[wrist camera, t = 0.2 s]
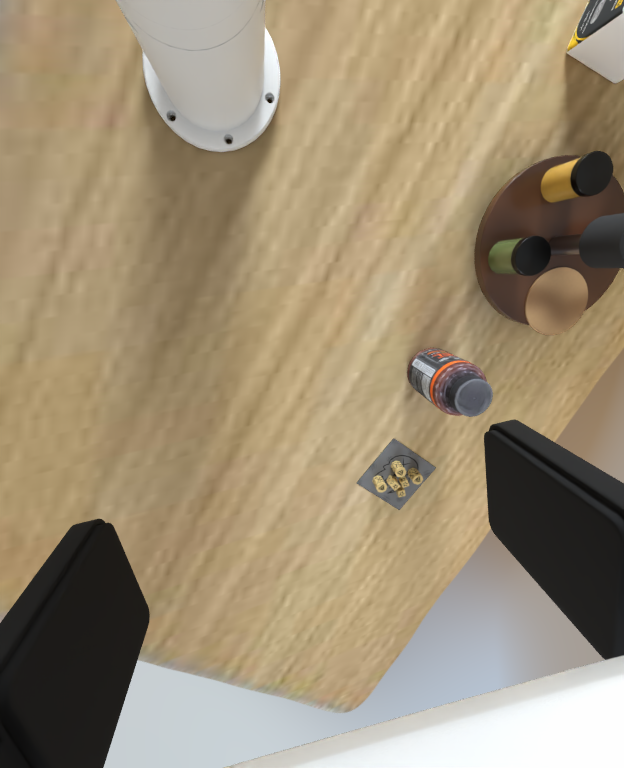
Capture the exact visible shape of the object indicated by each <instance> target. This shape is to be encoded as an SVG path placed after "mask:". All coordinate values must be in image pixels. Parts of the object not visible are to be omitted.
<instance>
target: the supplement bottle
mask: <svg viewBox="0 0 624 768" xmlns="http://www.w3.org/2000/svg"><path fill="white" fill-rule="evenodd" d="M407 374H408V380H409V382H410V384H411V385H412V387H413V388H414V389H415V390H416V391H418V392H419V393H420V394H421V395H423V396H424V397H425V398H426V399H428V400H429V401H430V402H431V403H433V404H434V405H435V406H436V407H438V408H439V409H440V410H441V411H443V412H445V413H447V414H450V415H455V416H459V415H465V416H469V417H471V416H477V415H479V414H481V413H483V412H484V411H485V410H486V409H487V408H488V407H489V405H490V404H491V401H492V397H493V392H492V389H491V386H490V385H489V384H488V383H487V380H486V377H485V375H484V373H483V372H482V371H481V370H480V369H479V368H478V367H477V366H475V365H474V364H472V363H470V362H468V361H465V360H463V359H461V358H459V357H457V356H454V355H452V354H450V353H448V352H446V351H444V350H441V349H437V348H428V349H424V350H422V351H420V352H418V353H417V354H416V355H415V356H414V357H413V358H412V360H411V361H410V363H409V366H408V372H407Z"/></svg>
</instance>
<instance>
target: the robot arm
mask: <svg viewBox="0 0 624 768" xmlns="http://www.w3.org/2000/svg"><path fill="white" fill-rule="evenodd" d="M116 2H117V3H118V5H119V7H120V9H121V11H122V13H123V14H124V16H125V18H126V20H127V22H128V24H129V25H130V27H131V29H132V31H133V33H134V35H135V36H136V38H137V40H138V42H139V44H140V46H141V47H142V49H143V72H144V77H145V82H146V86H147V89H148V92H149V95H150V97H151V100H152V102H153V104H154V105H155V107H156V109H157V111H158V113H159V114H160V116H161V117H162V118H163V120H164V121H165V123H166V124H167V125H168V126H169V127H170V128H171V129H172V130H173V131H174V132H175V133H176V134H177V135H178V136H180V137H181V138H182V139H184V140H185V141H186V142H188V143H190V144H192V145H194V146H196V147H198V148H201V149H205V150H208V151H216V152H226V151H234V150H237V149H239V148H242V147H245V146H247V145H248V144H250V143H251V142H253V141H254V140H256V139H257V138H258V137H259V136H260V135H261V134H262V133H263V132H264V131H265V129H266V128H267V126H268V125H269V123H270V122H271V120H272V118H273V115H274V113H275V110H276V108H277V103H278V99H279V93H280V67H279V61H278V56H277V52H276V49H275V47H274V44H273V41H272V39H271V37H270V35H269V33H268V31H267V29H266V28H265V0H116ZM268 99H271V100H272V103H268V102H267V100H268ZM171 117H176V119H175V120H174V121H171ZM228 139H230V140H231V141H232V142H231V144H228V143H227V140H228ZM484 446H485V463H486V481H487V498H488V515H489V523H490V526H491V529H492V530H493V532H494V534H495V535H496V536H497V537H498V539H499V540H500V541H501V542H502V543H503V544H504V545H505V547H506V548H507V549H508V550H509V551H510V552H511V554H512V555H513V556H514V557H515V558H516V559H517V560H518V561H519V563H520V564H521V565H522V566H523V567H524V568H525V570H526V571H527V572H528V573H529V574H530V575H531V576H532V578H533V579H534V580H535V581H536V582H537V583H538V584H539V586H540V587H541V588H542V589H543V590H544V591H545V592H546V594H547V595H548V596H549V597H550V598H551V599H552V600H553V601H554V603H555V604H556V605H557V606H558V607H559V608H560V610H561V611H562V612H563V613H564V614H565V615H566V616H567V618H568V619H569V620H570V621H571V622H572V623H573V624H574V626H576V628H577V629H578V630H579V631H580V632H581V634H582V635H583V636H584V637H585V638H586V639H587V640H588V642H589V643H590V644H591V645H592V646H593V647H594V648H595V650H596V651H597V652H598V653H599V654H600V655H601V656H602V657H603V658H604V659H605V660H603V661H600V662H596V663H592V664H588V665H585V666H581V667H578V668H574V669H570V670H567V671H563V672H560V673H556V674H553V675H549V676H545V677H542V678H538V679H534V680H531V681H528V682H524V683H520V684H517V685H513V686H509V687H506V688H502V689H499V690H495V691H491V692H488V693H484V694H480V695H477V696H473V697H470V698H466V699H463V700H459V701H456V702H452V703H448V704H445V705H441V706H438V707H434V708H430V709H427V710H423V711H420V712H417V713H413V714H409V715H406V716H402V717H399V718H395V719H392V720H388V721H385V722H382V723H378V724H374V725H371V726H367V727H364V728H360V729H357V730H353V731H350V732H346V733H343V734H339V735H336V736H332V737H329V738H326V739H322V740H318V741H315V742H312V743H308V744H304V745H301V746H297V747H294V748H290V749H287V750H283V751H280V752H276V753H273V754H269V755H266V756H262V757H259V758H255V759H252V760H248V761H245V762H242V763H238V764H235V765H231V766H228V767H224V768H624V483H622V482H620V481H618V480H617V479H615V478H613V477H612V476H610V475H608V474H606V473H605V472H603V471H602V470H600V469H598V468H596V467H595V466H593V465H592V464H590V463H588V462H587V461H585V460H583V459H581V458H580V457H578V456H576V455H575V454H573V453H571V452H570V451H568V450H566V449H565V448H563V447H561V446H560V445H558V444H556V443H555V442H553V441H551V440H550V439H548V438H546V437H545V436H543V435H541V434H539V433H538V432H536V431H534V430H533V429H531V428H529V427H528V426H526V425H524V424H523V423H521V422H519V421H517V420H510V421H505V422H501V423H497V424H493V425H491V426H490V429H489V431H488V432H486V433H485V435H484ZM148 624H149V608H148V605H147V603H146V601H145V598H144V596H143V594H142V591H141V589H140V587H139V584H138V582H137V580H136V577H135V575H134V573H133V570H132V568H131V566H130V563H129V561H128V559H127V556H126V554H125V552H124V549H123V547H122V545H121V542H120V540H119V538H118V535H117V533H116V531H115V528H114V527H113V525H112V524H111V523H105V522H104V521H103V520H102V519H96V520H92V521H88V522H83V523H79V524H75V525H73V526H72V527H71V528H70V529H69V530H68V532H67V533H66V535H65V536H64V537H63V539H62V540H61V541H60V543H59V544H58V545H57V547H56V548H55V550H54V551H53V552H52V554H51V555H50V556H49V558H48V559H47V560H46V562H45V563H44V564H43V566H42V567H41V569H40V570H39V571H38V573H37V574H36V575H35V577H34V578H33V579H32V581H31V582H30V583H29V585H28V586H27V588H26V589H25V590H24V592H23V593H22V594H21V596H20V597H19V598H18V600H17V601H16V603H15V604H14V605H13V607H12V608H11V609H10V611H9V612H8V613H7V615H6V616H5V617H4V619H3V620H2V622H1V623H0V768H103V767H104V764H105V761H106V757H107V754H108V751H109V748H110V745H111V742H112V738H113V735H114V732H115V729H116V726H117V723H118V719H119V716H120V713H121V710H122V707H123V704H124V701H125V697H126V694H127V691H128V688H129V684H130V682H131V678H132V675H133V672H134V669H135V666H136V663H137V660H138V656H139V653H140V650H141V647H142V644H143V641H144V637H145V634H146V631H147V628H148Z"/></svg>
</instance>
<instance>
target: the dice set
mask: <svg viewBox="0 0 624 768" xmlns="http://www.w3.org/2000/svg"><path fill="white" fill-rule="evenodd" d="M390 468H391V469H392V471H393V473H394V474H395V476H393V475H389V476H388V477H387V480H386V482H385V480H384V479H383V477H382V476H381V475H376V476H374V477H373V479H372V483H373V485H374V487H375V489H376V491H377V492H378V493H381V494H383V493H384V492H386V491H387V489H388V485H389V486H390V487H391V488H392V489H393V491H394V492H396V495H397V497H398V498H403V497H406V496H407V495H406V489H405V488H407V487H409V486H410V483H409V480H408V479H407V477H406V474H407V476H408V477H409V479H410V480H411V482H412V483H413V484H414V485H417V486H418V485H422V483H423V481H424V477H423V475H422V474H421V473H420V471H419V470H418V469H417V468H415V467H413V468H410V469H409V470H408V472H407V470H406V468H405V467H404V466H403V464H402V463H401V462H400V461H398V460H395V461H393V462H392V463H391V465H390Z"/></svg>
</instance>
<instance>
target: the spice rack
mask: <svg viewBox="0 0 624 768" xmlns="http://www.w3.org/2000/svg"><path fill="white" fill-rule="evenodd" d="M612 174H613V164H612V160H611V158H610V157H609V156H608V155H607V154H606V153H604V152H601V151H594V152H591V153H588V154H586V155H584V156H582V157H580V156H571V155H565V156H557V157H552V158H549V159H545V160H543V161H540V162H538V163H535V164H533V165H531V166H528V167H527V168H525V169H524V170H522V171H520V172H519V173H517V174H516V175H515V176H514V177H512V178H511V179H510V180H509V181H508V182H507V183H506V184H505V185H504V186H503V187H502V188H501V189H500V190H499V192H498V193H497V194H496V195H495V197H494V198H493V200H492V201H491V203H490V205H489V206H488V208H487V210H486V212H485V214H484V216H483V218H482V221H481V224H480V227H479V230H478V234H477V238H476V245H475V269H476V275H477V279H478V283H479V285H480V288H481V290H482V292H483V294H484V296H485V297H486V299H487V301H488V302H489V303H490V304H491V306H492V307H493V308H494V309H495V310H496V311H498V312H499V313H500V314H501V315H503V316H504V317H506V318H508V319H510V320H512V321H515V322H518V323H522V324H526V325H530V326H531V327H532V328H533V329H534V330H535V331H537V332H538V333H541V334H544V335H557V334H560V333H563V332H565V331H567V330H568V329H570V328H571V327H572V326H573V325H575V324H576V323H577V321H578V320H579V319H580V317H581V316H582V314H583V312H584V311H585V310H587V309H588V308H589V307H591V306H592V305H593V304H594V303H595V302H596V301H597V300H598V299H599V298H600V297H601V296H602V295H603V294H604V292H605V291H606V290H607V289H608V287H609V286H610V284H611V283H612V282H613V280H614V278H615V276H616V275H617V273H618V271H619V269H620V268H624V192H623V190H622V188H621V186H620V185H619V183H618V181H617V180H616V178H615V177H614V176H613V175H612Z"/></svg>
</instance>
